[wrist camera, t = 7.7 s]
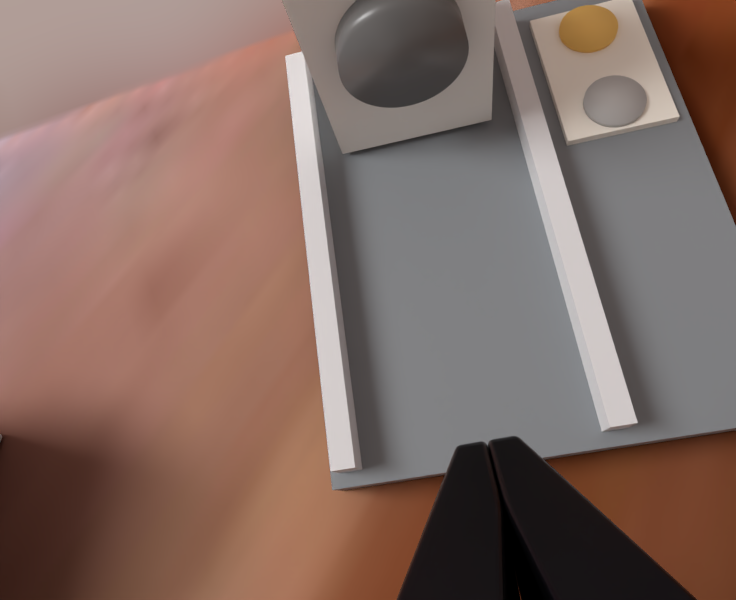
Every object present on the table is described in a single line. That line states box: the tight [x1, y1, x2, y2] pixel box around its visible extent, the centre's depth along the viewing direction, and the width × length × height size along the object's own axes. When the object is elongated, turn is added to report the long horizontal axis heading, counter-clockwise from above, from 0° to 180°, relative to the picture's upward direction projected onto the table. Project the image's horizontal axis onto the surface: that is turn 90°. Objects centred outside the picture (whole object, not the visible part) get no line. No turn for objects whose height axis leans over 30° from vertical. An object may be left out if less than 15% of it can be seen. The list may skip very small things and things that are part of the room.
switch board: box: [285, 0, 736, 491], centre depth 21 cm, size 18×15×3 cm
